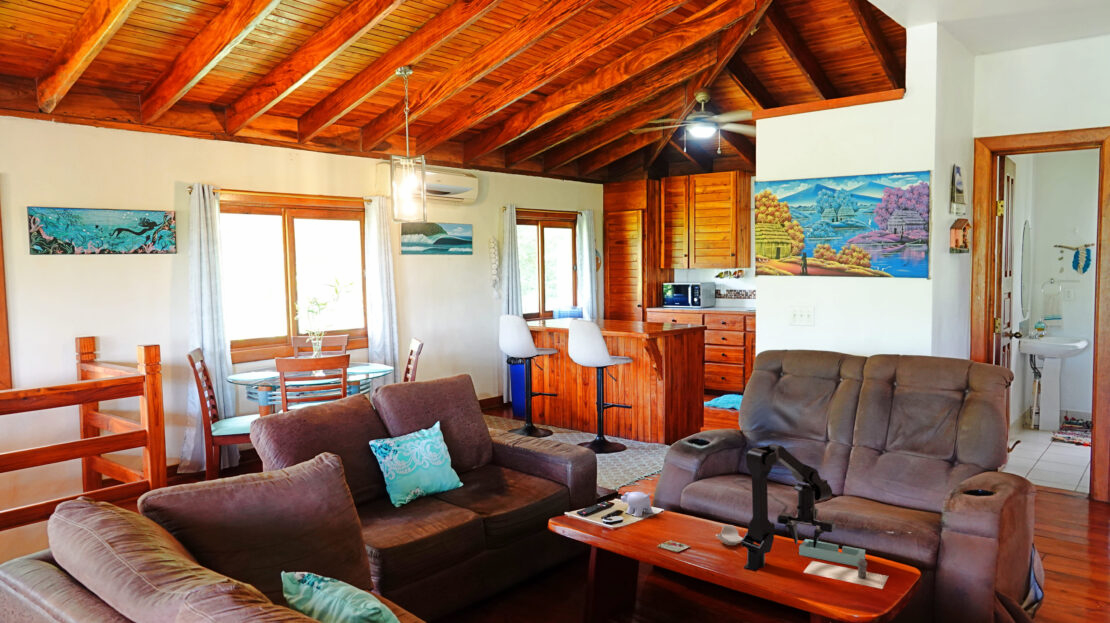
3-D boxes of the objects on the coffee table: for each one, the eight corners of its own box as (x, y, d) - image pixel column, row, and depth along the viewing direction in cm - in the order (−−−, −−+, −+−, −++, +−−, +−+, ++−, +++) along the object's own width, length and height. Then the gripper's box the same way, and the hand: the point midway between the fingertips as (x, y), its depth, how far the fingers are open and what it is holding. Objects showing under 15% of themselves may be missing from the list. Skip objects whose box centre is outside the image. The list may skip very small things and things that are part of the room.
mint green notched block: (865, 561, 254) (865, 549, 254) (859, 569, 246) (860, 557, 246) (805, 549, 265) (805, 538, 265) (799, 557, 257) (799, 546, 257)
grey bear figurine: (630, 505, 318) (631, 483, 318) (658, 513, 307) (658, 490, 307) (614, 510, 310) (614, 488, 310) (641, 519, 300) (642, 495, 299)
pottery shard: (722, 549, 265) (722, 535, 265) (707, 539, 276) (707, 526, 276) (747, 546, 268) (747, 532, 268) (732, 536, 279) (732, 523, 279)
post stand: (888, 579, 238) (888, 557, 238) (882, 591, 228) (882, 569, 228) (812, 563, 251) (812, 543, 251) (803, 575, 241) (803, 554, 241)
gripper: (838, 500, 262) (838, 544, 262) (785, 492, 272) (785, 534, 272) (831, 508, 252) (831, 553, 253) (777, 499, 262) (776, 543, 263)
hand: (805, 545), depth 260 cm, fingers open, 6 cm apart
